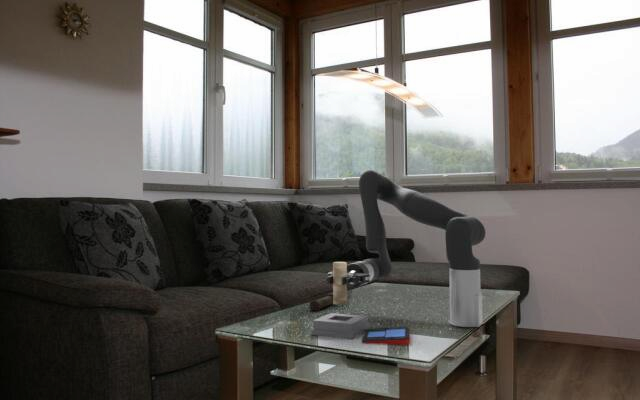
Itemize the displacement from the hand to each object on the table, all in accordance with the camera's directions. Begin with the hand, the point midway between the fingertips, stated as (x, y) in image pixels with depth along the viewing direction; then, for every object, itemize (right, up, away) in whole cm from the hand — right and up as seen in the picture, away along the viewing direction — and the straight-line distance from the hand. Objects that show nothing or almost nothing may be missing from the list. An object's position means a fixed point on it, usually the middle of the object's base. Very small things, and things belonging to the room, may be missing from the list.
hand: (336, 280), depth 152 cm
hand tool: (-3, -17, +43) cm, 47 cm away
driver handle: (+1, -7, +2) cm, 8 cm away
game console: (+14, -16, -5) cm, 22 cm away
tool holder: (+1, -15, +2) cm, 16 cm away
